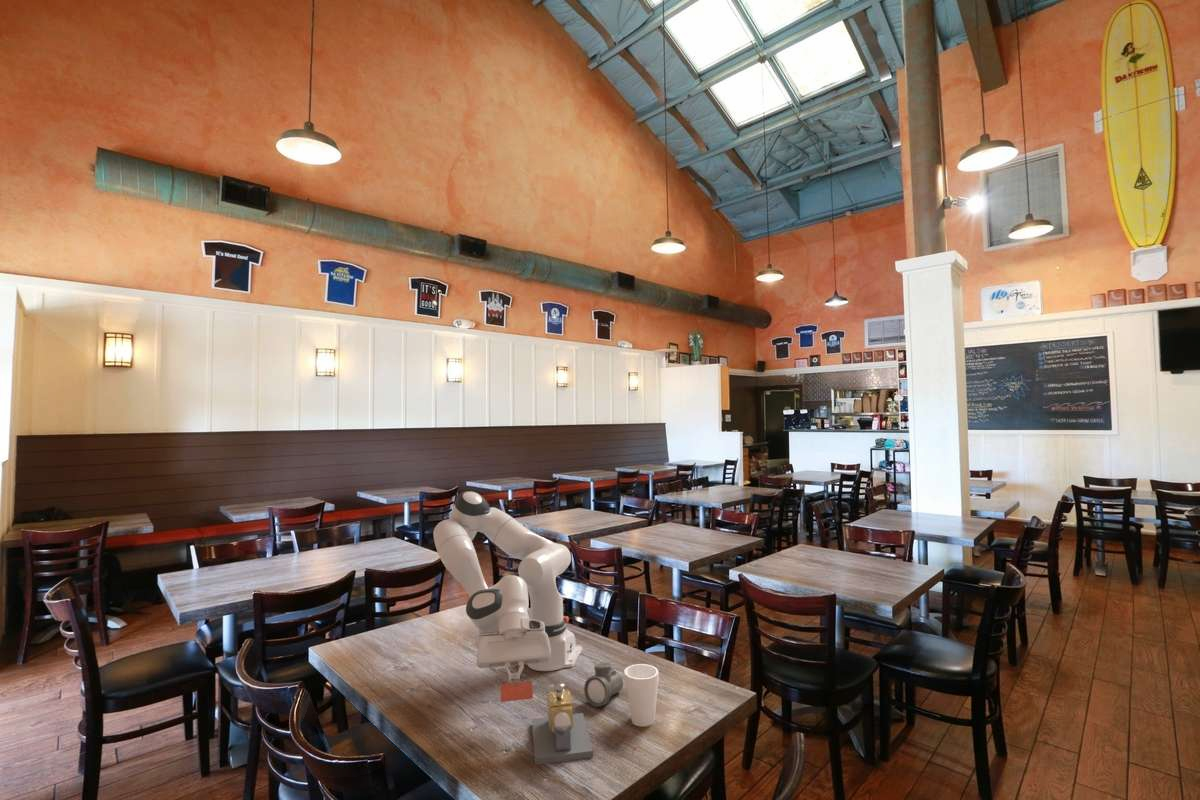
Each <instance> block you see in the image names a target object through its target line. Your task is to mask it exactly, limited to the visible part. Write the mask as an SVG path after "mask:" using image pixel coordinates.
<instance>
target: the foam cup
mask: <svg viewBox="0 0 1200 800" xmlns="http://www.w3.org/2000/svg"><path fill="white" fill-rule="evenodd" d="M623 673H624V674H623V676H624V677H623V678H624V679H623V681H624V683H625V687H626V694H627V700H628V701H627V702H628V708H629V714H630V718H631V719H630V720H631V723H632V724H633V725H635V726H637V727H643V728H644V727H649V726H652V725H654V723H655V718H656V712H657V711H656V708H657V698H658V687H659V682H660V673H659V669H658V668H657V667H655V666H654V665H651V664H646V663H637V664H636V663H635V664H632V665H629V666H626V667H625V668H624V670H623Z"/></svg>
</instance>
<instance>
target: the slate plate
mask: <svg viewBox="0 0 1200 800" xmlns="http://www.w3.org/2000/svg"><path fill="white" fill-rule="evenodd" d="M531 723H532V724H531V726H532V740H533V741H532V743H533V752H534V753H533V755H534V766H536V765H537V766H538V765H544V764H552V763H559V762H566V761H567V762H568V761H575V760H581V759H590V758H594V754H593V752H594V750H593V747H592V743H591V739H590V735H589V731H588V727H587V724H586V719H585V715H584V712H581V713H580V712H579V713H573V727H572V728H573V730H570V734H571V751H563V752H556V747H555V732H552V730H550V729H549V721H548V716H547V717H538V718H537V717H536V718H532V719H531Z"/></svg>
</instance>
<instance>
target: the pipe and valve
mask: <svg viewBox="0 0 1200 800" xmlns="http://www.w3.org/2000/svg"><path fill="white" fill-rule="evenodd" d="M546 695H547V717H548V721H549V729H550V730H552V732H555V747H556V752H563V751H571V734H570V730H573V728H572V727H573V714H574V708H573V707H574V703H573V698H572V694H571V691H570V690H569V689H565V690H564V691H561V692H557V691H551V692H547V694H546Z"/></svg>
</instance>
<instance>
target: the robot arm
mask: <svg viewBox="0 0 1200 800" xmlns="http://www.w3.org/2000/svg"><path fill="white" fill-rule="evenodd" d="M478 532H479V533H482V534H484V535H485V537H487V539H488V540H489V541H490V542H492V543H493V544H494V545H496V547H498V548H499V549H501V550H502V551H503V552H504V553H506V555H508V556H509V557H510V558H513V559H517V560H521V561H520V562H519V565H518V568H517V570H518V571H517V572H518V576H517V575H514V574H507V575H505V576H503V577H502V578H501V579H500V580H498V582H497V583H496V584H494V585H492V586H488V584H487V582H486V580H485V577H484V575H483V572H482V567H481V565H480V562H479V558H478V554H477V552H476V549H475V546H474V543H473V542H474V540H475V539H476V538H475V537H476V535H477V533H478ZM432 534H433V541H434V545H435V548H436V552H437V554H438V556H439V559H440V560H441V562H442V564H443V566H444V567H445V568H446V570H447V571H448V572H449V573H450V574H451V576H453V578H454V579H456V581H457V582H458V583H459V584H460V585H461V586H462V587H463V588H464V590H465V592H467V594H468V595H469V599H468V600H467V603H466V606H465V613H466V615H467V616H468V618H469V619H470V621H471V622H472V623H473V625H474V626H475V627H476V629H477V631H479V633H480V634H479V635H478V636H477V637H476V640H475V641H476V642H475V646H476V648H477V653H476V666H477V667H478V668H479V669H487V668H488V669H489V668H500V667H504V671H505V673H506V674H507V676H508V683H518V682H521V675H522V672H523V670H524V669H525V667H524V665H527V667H529V668H530V669H532V670H534V671H539V672H553V671H557V670H560V669H565V668H572V667H574V666H575V665H576V662H577V660H578V659H577V658H579V657H580V655H581V653H582V652H583V647H582V646H581V645H578V644H577V643H576V642H577V641H576V636H575V634H574V632H572V631H570V629H568V628H567V625H566V623H568V622H569V620H570V618H569V616H566V615H564V603H563V602H564V600H563V599H564V598H563V596H562V594H561V593H560V592H559V590H558V588H557V582H556V579H557V577H558V576H560V575H562V574H563V573H564V572H565V571H566V570H567V569H568V567H569V566H570V564H571V561H572V554H571V552H570V550H569V548H568V547H567V546H566V545H565V544H562V543H558V542H554V541H551V540H549V539H547V538H545V537H543V536H541V535H539V534H538V533H537V534H536V533H535V532H533V531H532V530H529V529H528V528H527V527H526V526H525V525H523V524H522V523H520V522H519V521H518V520H517V519H515V518H514V517H513V516H512V515H510V514H508V513H507V512H505V511H503V510H501V509H498V508H497V507H490V504H489V502H488V501H487V499H485V498H484V496H483V495H481V494H480V493H479V492H476V491H472V490H468V491H467V490H466V491H462V492H461V493H460V494H459V495H458V496H457V497H456V499H455V501H454V503H453V507H452V508H451V511H450V513H449V518H447V519H443V520H441V521H440V522H438V523H437V524H436V526H435V527H434V529H433V533H432ZM529 600H530V601H529ZM529 602H530V615H529V613H528V610H529ZM581 651H582V652H581ZM579 654H580V655H579ZM578 656H579V657H578ZM511 666H518V670H517V672H512V671H511Z"/></svg>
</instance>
